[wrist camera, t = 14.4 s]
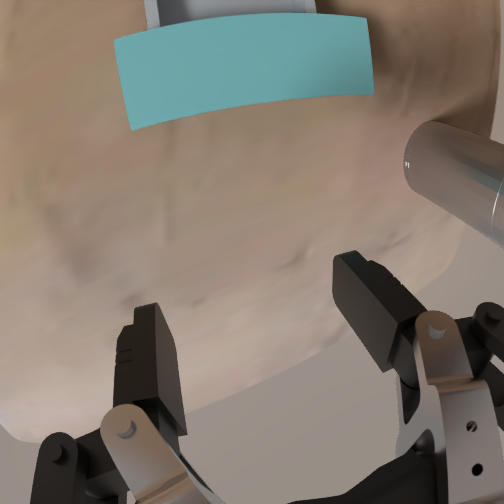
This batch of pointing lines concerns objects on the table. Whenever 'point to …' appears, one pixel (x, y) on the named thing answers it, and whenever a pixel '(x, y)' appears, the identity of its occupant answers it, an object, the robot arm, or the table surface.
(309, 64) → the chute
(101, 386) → the table surface
